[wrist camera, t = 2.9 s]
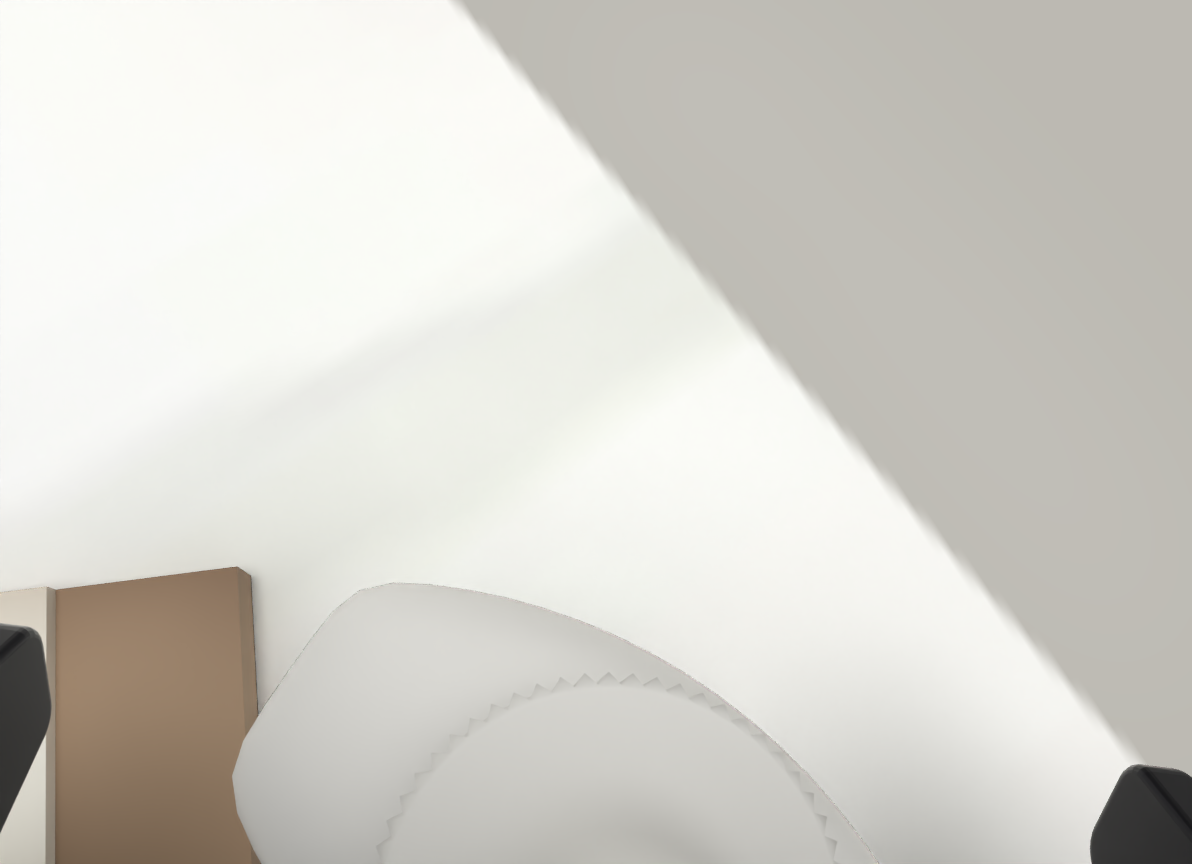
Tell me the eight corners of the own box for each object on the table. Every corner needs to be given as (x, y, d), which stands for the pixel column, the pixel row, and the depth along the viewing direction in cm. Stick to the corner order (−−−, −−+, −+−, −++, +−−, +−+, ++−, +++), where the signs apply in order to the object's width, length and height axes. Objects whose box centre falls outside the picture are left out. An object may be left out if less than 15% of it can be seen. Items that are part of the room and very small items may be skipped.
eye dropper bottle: (583, 570, 16) (744, 129, 5) (776, 912, 15) (1625, 1428, 4) (324, 714, 15) (-243, 597, 4) (506, 1090, 14) (464, 2560, 3)
